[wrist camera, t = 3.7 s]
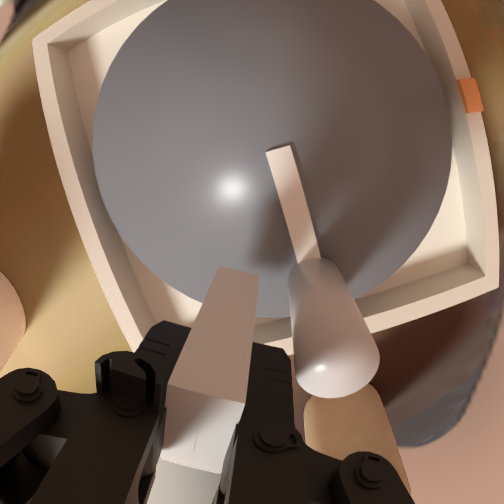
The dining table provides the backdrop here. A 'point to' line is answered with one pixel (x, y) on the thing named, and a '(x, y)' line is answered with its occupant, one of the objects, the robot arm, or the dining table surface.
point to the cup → (10, 320)
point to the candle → (352, 427)
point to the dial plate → (265, 329)
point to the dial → (277, 160)
